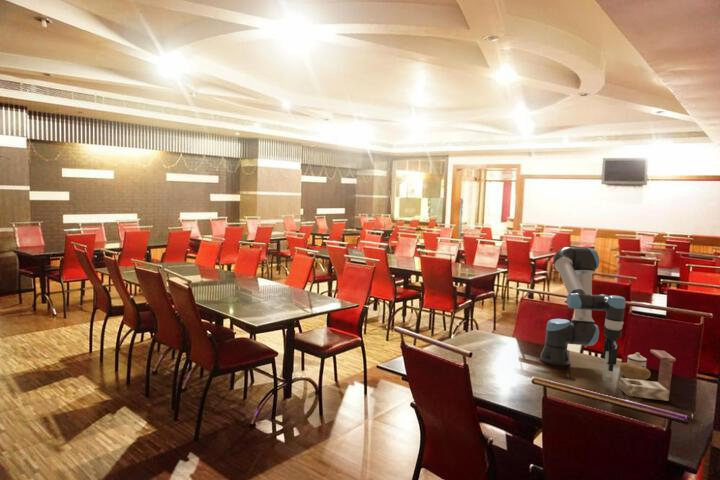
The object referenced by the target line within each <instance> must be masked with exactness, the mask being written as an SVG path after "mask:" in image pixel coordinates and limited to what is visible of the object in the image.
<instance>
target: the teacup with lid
mask: <svg viewBox="0 0 720 480" xmlns="http://www.w3.org/2000/svg"><path fill="white" fill-rule="evenodd" d="M626 358H627V362H626V363H630V364H634V365H638V366H640V367H644V368H646V369H647V362H648V359H647V358H646V357H644V356H642V355H641V353H640V352H635V353H633V354H628V355H627V357H626Z"/></svg>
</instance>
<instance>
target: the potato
mask: <svg viewBox="0 0 720 480" xmlns="http://www.w3.org/2000/svg"><path fill="white" fill-rule="evenodd" d="M619 370H620V373H621V375H623V376H624V378H628V379H637V380H645V381H647V380H648V379H650V377H651V375H652V374H651V373H652V372H651V371H650V370H649V369H648V368H647V367H646V368H644V367H640V366H638V365H634V364H630V363H627V362H622V363H620V365H619Z"/></svg>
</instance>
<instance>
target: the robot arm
mask: <svg viewBox="0 0 720 480" xmlns="http://www.w3.org/2000/svg"><path fill="white" fill-rule="evenodd" d="M552 263H553V266H554V269H555V270H556V271H558V273H559V275H560V278H561V280H562V283H563V284H564V287H565V288H566V291H567V296H566V304H567V307H568V309H569V308H570V309H574V317H573V318H571V321H570V320H569V319H563V318H553V319H549V320H548V321H547V323H546V327H545V339H544V341H545V342H544V346H543V349H542V351H541V353H540V357H539V359H540V361H542V362H544V363H546V364H549V365H554V366H562V367H563V366H568V365H570V355H569V351H568V346H569V345H576V346H577V345H578V346H594V345H595V344H597V342H598V339H599V335H600V329H599V326H598V324H595V320H594V319H593V317H592V316H593V315H592V311H601V312H605V320H604V327H603V328H604V329H603V335H604V336H605V337H604V336H603V337H604V338H603V340H604V342H603V343H604V344H603V351H602V357H603V359H604V361H603V364H604V363H605V355H606V351H609V359H608V363H607V370H606V377H612V378H613V377H614V376H613V375H614V367H615V365H617V359H618V353H619V349H620V345H618V339H621V338H622V334H623V330H622V329H623V325H624V324H625V322H624V317H625V309H626V297H624V296H621V295H614V294H613V295H608V294H605V293H604V294H603V293H601V294H593V274H594V273H596V270H597V269H599V267H600V256H599V253H598V252H597V250H596V249H595V248H589V247H576V246H575V247H574V246H573V247H572V246H565V247H561V248H560V249H558V250H557V251H556V253H555V254H554V256H553V260H552ZM603 371H604V366H603V367H602V372H603Z"/></svg>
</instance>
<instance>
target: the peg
mask: <svg viewBox="0 0 720 480" xmlns="http://www.w3.org/2000/svg"><path fill="white" fill-rule="evenodd" d="M608 359H609V351H606V355H605V363H604V362H603V367H604V371H603V370H602V381H604V382H606V383H612V378H613V376H612V377H606V370H607V363H608Z"/></svg>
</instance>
